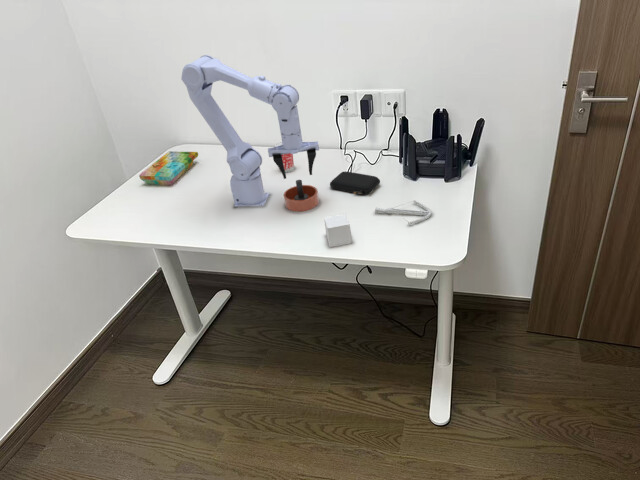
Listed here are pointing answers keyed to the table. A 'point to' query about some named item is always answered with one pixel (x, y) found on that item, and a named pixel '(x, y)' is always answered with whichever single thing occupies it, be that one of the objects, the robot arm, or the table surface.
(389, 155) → the table surface
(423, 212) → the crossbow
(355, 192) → the carrying case
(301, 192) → the dark grey bolt
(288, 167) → the beverage cup
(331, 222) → the white cube
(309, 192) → the pot
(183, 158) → the puzzle game
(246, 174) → the robot arm
